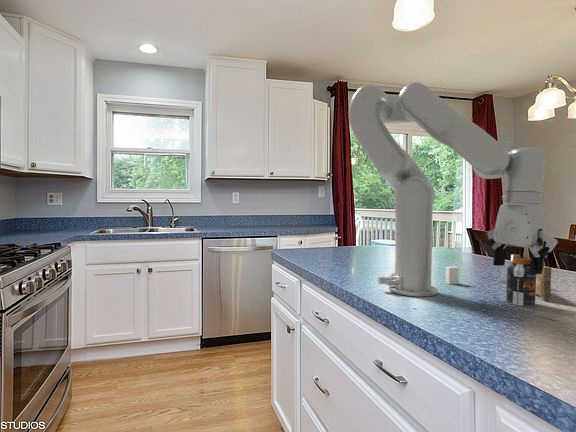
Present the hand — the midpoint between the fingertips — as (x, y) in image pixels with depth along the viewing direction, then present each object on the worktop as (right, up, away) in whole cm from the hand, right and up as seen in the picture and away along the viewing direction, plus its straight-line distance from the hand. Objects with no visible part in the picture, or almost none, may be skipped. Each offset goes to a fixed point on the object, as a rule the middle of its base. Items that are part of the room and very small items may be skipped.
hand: (516, 269), depth 86 cm
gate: (+11, -8, +11) cm, 17 cm away
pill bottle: (+1, -9, 0) cm, 9 cm away
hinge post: (+13, -8, +21) cm, 26 cm away
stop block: (-6, -8, +22) cm, 24 cm away
